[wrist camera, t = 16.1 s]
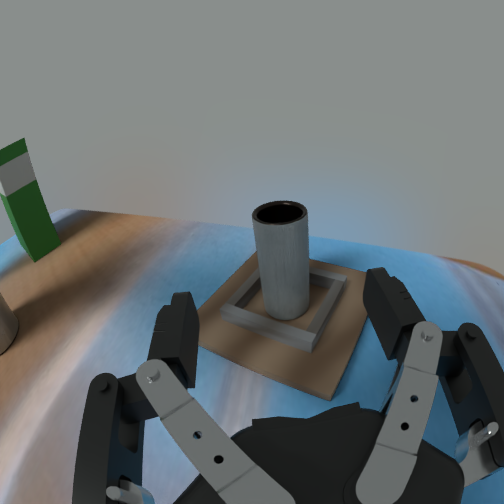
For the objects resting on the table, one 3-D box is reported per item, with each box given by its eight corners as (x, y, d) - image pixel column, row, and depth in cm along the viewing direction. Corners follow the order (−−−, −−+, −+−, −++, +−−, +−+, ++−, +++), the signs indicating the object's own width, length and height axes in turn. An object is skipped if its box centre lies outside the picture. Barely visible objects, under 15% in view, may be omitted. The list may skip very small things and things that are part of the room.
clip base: (180, 335, 28) (173, 319, 27) (260, 253, 39) (258, 237, 38) (330, 401, 20) (333, 386, 19) (379, 282, 31) (382, 265, 30)
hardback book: (20, 244, 55) (-12, 159, 42) (42, 230, 60) (13, 145, 47) (34, 262, 46) (-8, 154, 33) (61, 243, 51) (24, 137, 38)
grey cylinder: (281, 284, 32) (273, 196, 26) (317, 299, 29) (317, 206, 23) (255, 309, 29) (240, 216, 23) (292, 327, 26) (286, 229, 21)
